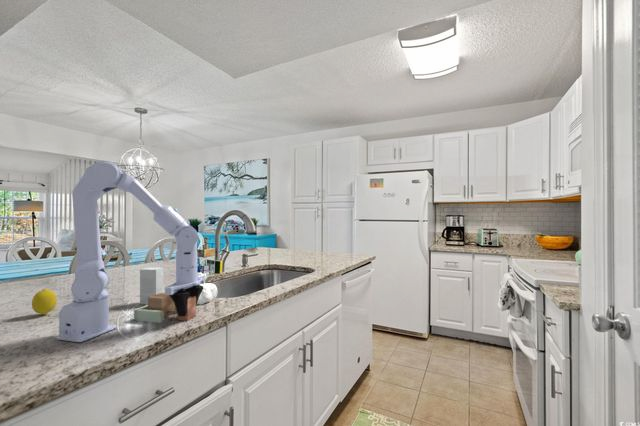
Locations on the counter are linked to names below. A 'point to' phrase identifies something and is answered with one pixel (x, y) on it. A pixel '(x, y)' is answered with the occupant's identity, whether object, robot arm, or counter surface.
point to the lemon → (44, 301)
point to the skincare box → (150, 283)
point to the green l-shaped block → (149, 315)
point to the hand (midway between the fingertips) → (186, 313)
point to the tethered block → (171, 306)
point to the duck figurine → (206, 291)
